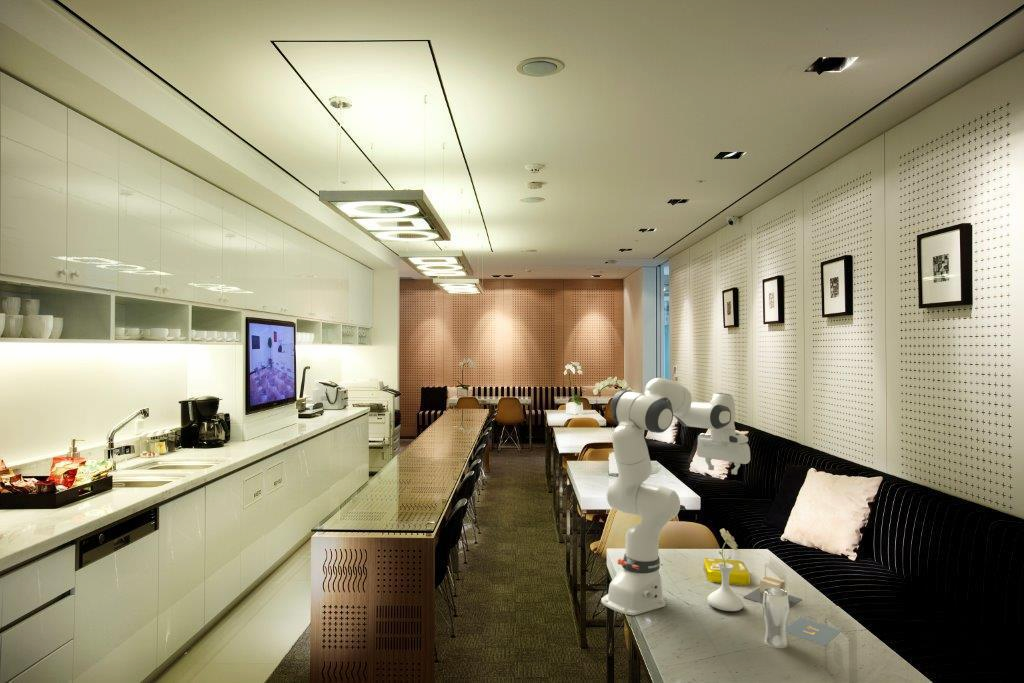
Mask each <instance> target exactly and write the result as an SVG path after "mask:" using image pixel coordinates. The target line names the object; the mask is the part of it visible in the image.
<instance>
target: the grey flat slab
mask: <svg viewBox="0 0 1024 683" xmlns="http://www.w3.org/2000/svg"><path fill="white" fill-rule="evenodd" d="M841 632H842V630H841V629H838V628H835V627H832V626H829V625H826V624H823V623H820V622H817V621H816V620H815V621H814V620H811V619H809V618H806V617H802V616H800V617H798V618H796V620H794V621H793V622H791V623H790V624H789V625H787V626H786V634H787V633H788V634H790V635H793V636H796V637H799V638H801V639H804V640H806V641H810V642H812V643H815V644H818V645H820V646H822V647H825V646H826V645H827V644H829V643H830V642H831V641H832V640H833V639H834V638H835V637H836V636H838V635H839V634H840V633H841Z"/></svg>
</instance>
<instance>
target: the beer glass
mask: <svg viewBox="0 0 1024 683" xmlns="http://www.w3.org/2000/svg"><path fill="white" fill-rule="evenodd" d="M788 595H789V593H788V591H786V589H785V590H783V589H780V588H775V587H767V588H765V589H764V594H763V604H762V611H763V612H762V613H763V619H764V623H765V634H764V638H763V641H764V643H765V644H766V645H767V646H770V647H771V648H776V649H785V648H788V641H787V636H786V634H787V632H786V627H787V626H788V621H789V615H790V608H789V598H788Z"/></svg>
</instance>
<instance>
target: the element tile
mask: <svg viewBox="0 0 1024 683" xmlns="http://www.w3.org/2000/svg"><path fill="white" fill-rule="evenodd" d="M725 559H726V558H724V560H725ZM724 562H725V563H729V564H731V565H733V566H734V567H733V568H732V570H731V572H730V576H729V585H734V584H737V585H736V586H750V585H751V573H750V571H749V570H748V567H747V566H746V564H745V563H744V562H743V560H736V559H735V560H734V559H728V560H725V561H724ZM724 562H723V558H715V557H713V558H712V557H711V558H710V557H704V559H703V571H704V575H705V574H706V575H705V578H706V577H707V578H706V580H707V582H709V581H711V582H710V583H713V582H717V584H722V574H721V570H720V568H719V566H718V563H724Z"/></svg>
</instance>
